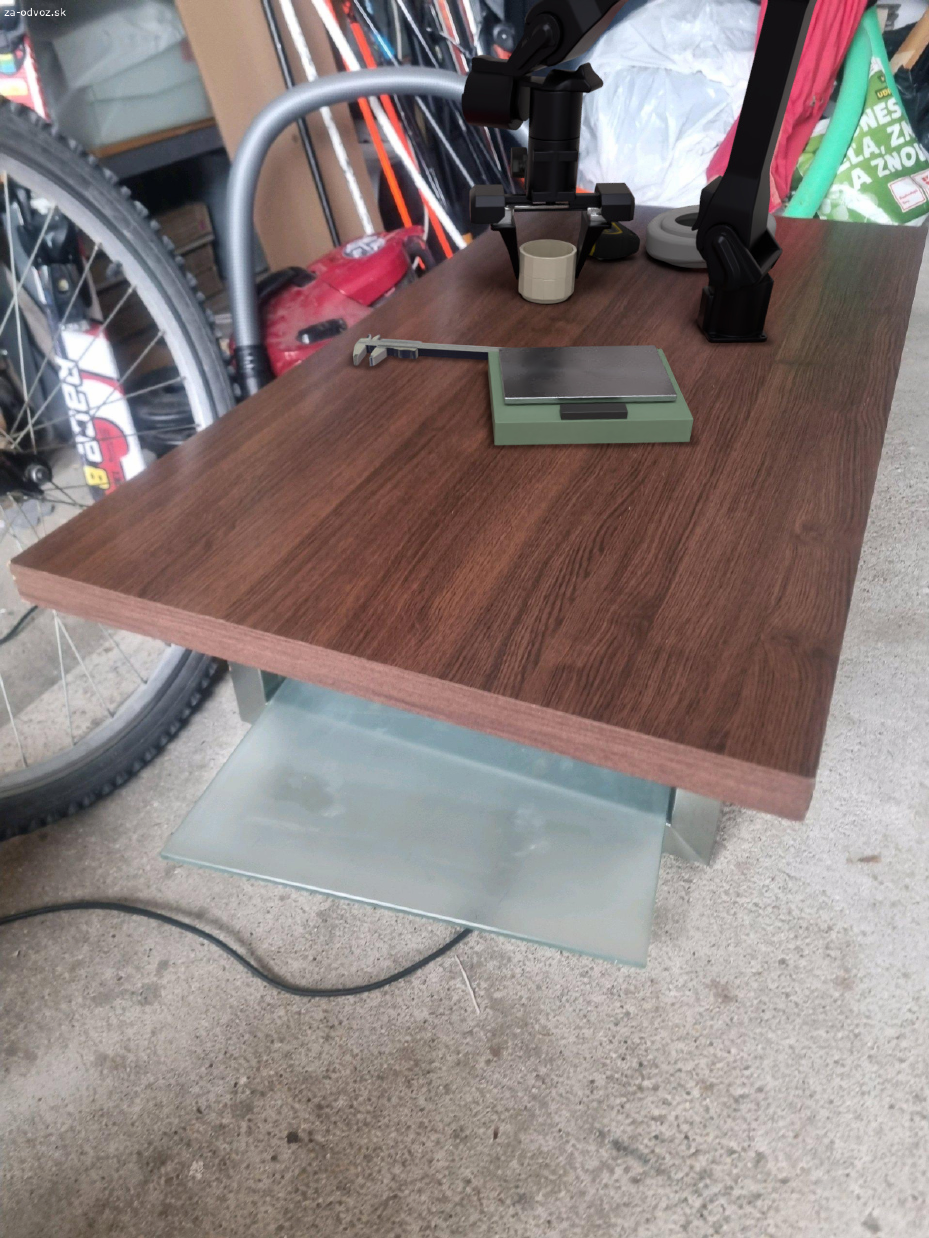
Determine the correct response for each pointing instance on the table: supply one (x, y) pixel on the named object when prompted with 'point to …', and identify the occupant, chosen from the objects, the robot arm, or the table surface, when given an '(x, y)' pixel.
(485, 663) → the table surface
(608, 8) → the robot arm
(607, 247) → the tape measure
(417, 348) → the caliper
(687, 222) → the grey donut ring
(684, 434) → the scale
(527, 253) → the cup
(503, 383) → the scale pan
